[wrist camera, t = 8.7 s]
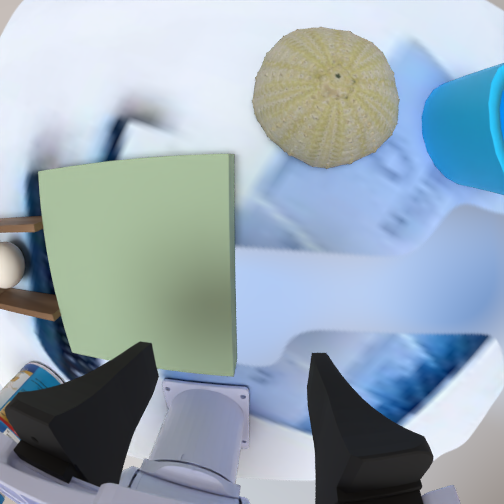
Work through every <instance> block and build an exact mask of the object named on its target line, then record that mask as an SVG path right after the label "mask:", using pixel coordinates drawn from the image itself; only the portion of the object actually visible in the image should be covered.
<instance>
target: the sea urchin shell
mask: <svg viewBox="0 0 504 504" xmlns="http://www.w3.org/2000/svg"><path fill="white" fill-rule="evenodd" d="M255 79H256V82H255V88H254V95H253V100H252V103H253V108H254V112H255V113H254V114H255V115H256V118H257V120H258V122H259V123H260V124H261V127H263V129H264V131H265V132H266V135H267V137H269V138H270V139H271V141H273V142H275V143H276V144H277V145H278V146H280V147H281V148H282V149H283V151H284V152H287V153H288V155H289V156H293V157H295V158H297V159H299V160H301V161H303V162H305V163H306V164H308V165H310V166H312V167H320V168H326V169H327V168H330V167H331V168H332V167H335V166H339V165H345V164H352V162H354V161H356V160H358V159H360V158H362V157H364V156H367V155H369V154H371V153H374V152H376V150H377V149H378V148H379V147H380V146H381V145H382V144H383V143H384V142H385V141H386V140H387V139H388V138H389V137H390V136H391V135H392V133H393V131H394V129H395V127H396V125H397V121H398V105H399V101H400V99H398V98H399V97H398V92H397V88H396V85H395V78H394V72H393V71H392V69H391V67H390V65H389V64H388V62H387V59H386V57H385V56H384V54H383V52H382V51H380V50H379V49H378V48H377V47H376V46H375V45H374V44H373V42H370V41H368V40H366V39H364V38H361V37H359V36H357V35H355V34H353V33H352V32H351V31H343V30H335V29H329V28H324V27H319V28H308V29H297V30H296V31H293V32H291V33H289V34H288V35H285V36H283V38H281V39H280V40H279V41H278V42H277V44H275V46H274V47H273V48H272V49H271V50H270V51H269V52H267V53H266V56H265V57H264V61H263V64H262V66H261V68H260V71H259V72H257V76H256V77H255Z"/></svg>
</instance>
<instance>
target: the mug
mask: <svg viewBox="0 0 504 504" xmlns="http://www.w3.org/2000/svg"><path fill="white" fill-rule="evenodd" d="M422 134H423V138H424V142H425V145H426V149H427V152H428V154H429V155H430V157H431V159H432V161H433V163H434V165H435V166H436V167H437V168H438V169H439V171H440V172H441V173H442V174H443V175H444V176H445V177H446V178H448V179H450V180H452V181H453V182H455V183H457V184H460V185H464V186H469V187H473V188H478V189H482V190H486V191H490V192H494V193H498V194H502V195H504V63H502V64H499V65H496V66H493V67H490V68H487V69H484V70H481V71H478V72H475V73H472V74H469V75H466V76H463V77H461V78H458V79H455V80H452V81H450V82H447V83H444V84H442V85H441V86H439V87H438V88H436V89H434V90H433V91H432V93H431V94H430V96H429V97H428V99H427V100H426V102H425V106H424V110H423V114H422Z"/></svg>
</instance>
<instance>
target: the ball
mask: <svg viewBox="0 0 504 504" xmlns="http://www.w3.org/2000/svg"><path fill="white" fill-rule="evenodd" d="M24 271H25V260H24V257H23V254H22V252H21V251H20V249H19V248H18V247H17V246H16V245H14V244H12V243H10V242H0V288H5V289H6V288H11V287H14V286H15V285H17V284H18V283H19V282H20V280H21V279H22V277H23V275H24Z"/></svg>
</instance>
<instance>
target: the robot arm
mask: <svg viewBox="0 0 504 504" xmlns="http://www.w3.org/2000/svg"><path fill="white" fill-rule="evenodd" d="M158 377H159V376H158V371H157V367H156V362H155V357H154V352H153V347H152V343H149V342H141V341H140V342H138V343H136V344H135V345H133V346H132V347H130V348H129V349H127V350H126V351H124V352H123V353H121V354H120V355H118V356H116V357H115V358H113V359H112V360H110V361H109V362H107V363H105V364H104V365H102V366H100V367H98V368H97V369H95V370H93V371H91V372H89V373H87V374H85V375H83V376H81V377H79V378H76V379H74V380H71V381H68V382H66V383H63V384H60V385H57V386H53V387H49V388H45V389H40V390H34V391H26V392H18V393H17V395H16V396H15V397H14V398H13V399H12V400H11V401H10V402H9V404H8V405H7V406H6V407H5V414H6V417H7V419H8V421H9V423H10V424H11V426H12V427H13V429H14V430H15V432H16V433H17V435H18V436H19V438H20V439H21V440H20V442H19V443H18V444H17V443H16V442H15V441H14V440H13V439H12V438H10V437H8V436H7V435H5V434H3V433H2V432H0V492H1V493H3V494H4V495H5V496H7V497H8V498H10V499H11V500H13V501H14V502H16V503H17V504H250V502H249V500H248V499H247V498H245V497H240V496H239V494H240V485H237V484H235V483H236V476H237V469H238V462H239V455H240V449H248V448H249V389H248V388H246V387H241V386H227V385H215V384H205V383H195V382H187V381H179V380H171V379H164V380H163V382H162V386H163V390H164V395H165V399H166V403H167V407H168V413H167V415H166V417H165V420H164V422H163V425H162V427H161V430H160V432H159V435H158V437H157V440H156V442H155V445H154V447H153V450H152V452H151V455H150V457H149V460H148V459H144V461H143V463H142V466H141V468H140V469H139V468H137V467H134V466H131V467H129V468H128V469H125V470H123V471H122V469H123V465H124V462H125V458H126V455H127V451H128V448H129V445H130V442H131V439H132V436H133V434H134V431H135V429H136V427H137V425H138V423H139V421H140V419H141V417H142V415H143V413H144V411H145V409H146V407H147V405H148V403H149V401H150V399H151V397H152V395H153V392H154V389H155V386H156V383H157V380H158ZM167 387H169V388H167ZM242 395H245V396H242ZM307 398H308V410H309V416H310V423H311V429H312V435H313V441H314V448H315V469H316V499H315V500H316V501H315V504H461V503H460V500H459V498H458V495H457V492H456V489H455V487H454V485H450V486H447V487H444V488H441V489H437V490H434V491H431V492H428V493H426V494H424V495H423V496H421V493H420V489H421V488H422V484H421V480H420V479H421V478H422V476H423V475H424V474H425V473H426V471H427V470H428V469H429V467H430V465H431V464H432V462H433V454H432V452H431V449H430V447H429V445H428V443H427V441H426V439H425V437H424V436H422V435H419V434H417V433H415V432H412V431H410V430H408V429H406V428H404V427H402V426H400V425H398V424H396V423H394V422H393V421H391V420H390V419H388V418H386V417H385V416H384V415H382V414H381V413H379V412H378V411H377V410H375V409H374V408H373V407H371V406H370V405H369V404H368V403H367V402H366V401H365V400H364V399H362V398H361V397H360V396H359V395H358V393H357V392H356V391H355V390H354V389H353V388H352V387H351V386H350V385H349V383H348V382H347V381H346V380H345V379H344V377H343V376H342V375H341V373H340V372H339V371H338V369H337V368H336V367H335V365H334V364H333V362H332V361H331V359H330V358H329V356H328V355H327V354H326V353H312V356H311V363H310V371H309V378H308V384H307Z"/></svg>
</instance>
